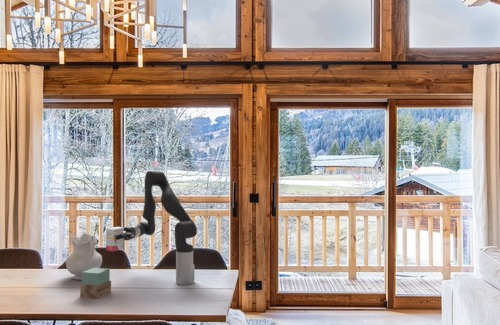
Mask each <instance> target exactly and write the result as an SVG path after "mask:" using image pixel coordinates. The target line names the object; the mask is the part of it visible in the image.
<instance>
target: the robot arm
mask: <svg viewBox="0 0 500 325" xmlns="http://www.w3.org/2000/svg"><path fill="white" fill-rule="evenodd" d="M153 187H159V189H160V190H161V196H160V203H161V205H162V206H163V208H164V210H165V212H167V214H168V215H170V216H172V217H173V218H175V219H176V220H178V221H179V222H177V223H175V227H174V244H175V284H177V285H181V286H182V285H185V286H186V285H188V286H189V285H191V284H193V283H194V282H195V271H196V270H195V266H196V265H195V264H194V246H193V245H192V244H190V243H188V242H187V239H191V238H195V237H196V236H197V234H198V228H197V225H196V224H195V222H194V220H193V219H192V218H191V217H190V215H189V214H188V212H186V210H185V209H184V207H183V206H182V204H181V202H180V200H179V198H178V197H177V195H176V194H175V191H173V189H172V187H171V185H170V183H169V181H168V179H167V176H166V174H165V173H164V172H163V171H161V170H148V171H147V172H146V173H145V175H144V204H143V212H142V218H143V219H144V220H146V221H140V222H138V223H137V224H135V225H128V226H124V233H123V234H121V235H117V236H116V240H119V239H124V241H131V240H135V239H136V238H139V237H142V236H143V235H147V236H153V235H154V234H155V232H156V221H155V215H156V214H155V213H156V209H157V208H156V206H157V205H156V201H155V198H154V196H153V192H152V191H153Z"/></svg>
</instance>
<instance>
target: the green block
mask: <svg viewBox="0 0 500 325" xmlns="http://www.w3.org/2000/svg"><path fill="white" fill-rule="evenodd" d="M110 274H111V272H110V268H101V267H100V268H92V269H89V270H87V271H84V272H82V280H81V284H82V285H93V286H99V285H102V284H104V283H106V282H108V281H111V280H110Z"/></svg>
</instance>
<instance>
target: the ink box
mask: <svg viewBox="0 0 500 325" xmlns="http://www.w3.org/2000/svg"><path fill="white" fill-rule="evenodd" d="M124 227H125V226H124ZM124 227H122V226H114V227H108V228H106V233H105V234H106V235H105V239H106V240H105V251H106V252H116V251H120V250H123V249H124V248H125V247H124V243H125V242H124V241H125V240H124V239H119V240H116V236H117V235H121V234H123V233H124Z"/></svg>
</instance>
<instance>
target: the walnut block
mask: <svg viewBox="0 0 500 325" xmlns="http://www.w3.org/2000/svg"><path fill="white" fill-rule="evenodd" d="M111 293H112V281H111V280H110V281H108V282H106V283H104V284H102V285H99V286H93V285H82V283H81V284H80V297H83V298H90V299H97V300H98V299H100V298H102V297H104V296H106V295H109V294H111Z"/></svg>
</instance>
